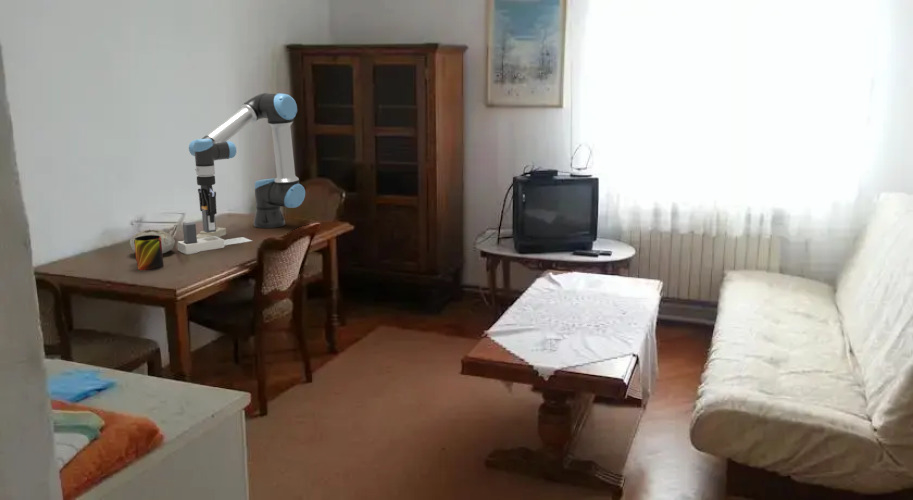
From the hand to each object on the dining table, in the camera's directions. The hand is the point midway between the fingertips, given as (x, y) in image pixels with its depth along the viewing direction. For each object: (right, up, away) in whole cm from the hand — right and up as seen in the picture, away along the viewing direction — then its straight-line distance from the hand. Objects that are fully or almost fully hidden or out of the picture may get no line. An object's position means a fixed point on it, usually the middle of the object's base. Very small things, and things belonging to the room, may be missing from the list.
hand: (209, 228), depth 339 cm
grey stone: (-21, -11, -8) cm, 25 cm away
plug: (0, -1, 0) cm, 1 cm away
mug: (-16, -16, -29) cm, 37 cm away
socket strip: (-3, -9, -1) cm, 10 cm away
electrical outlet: (-6, -5, +19) cm, 21 cm away
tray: (+7, -6, +13) cm, 15 cm away
